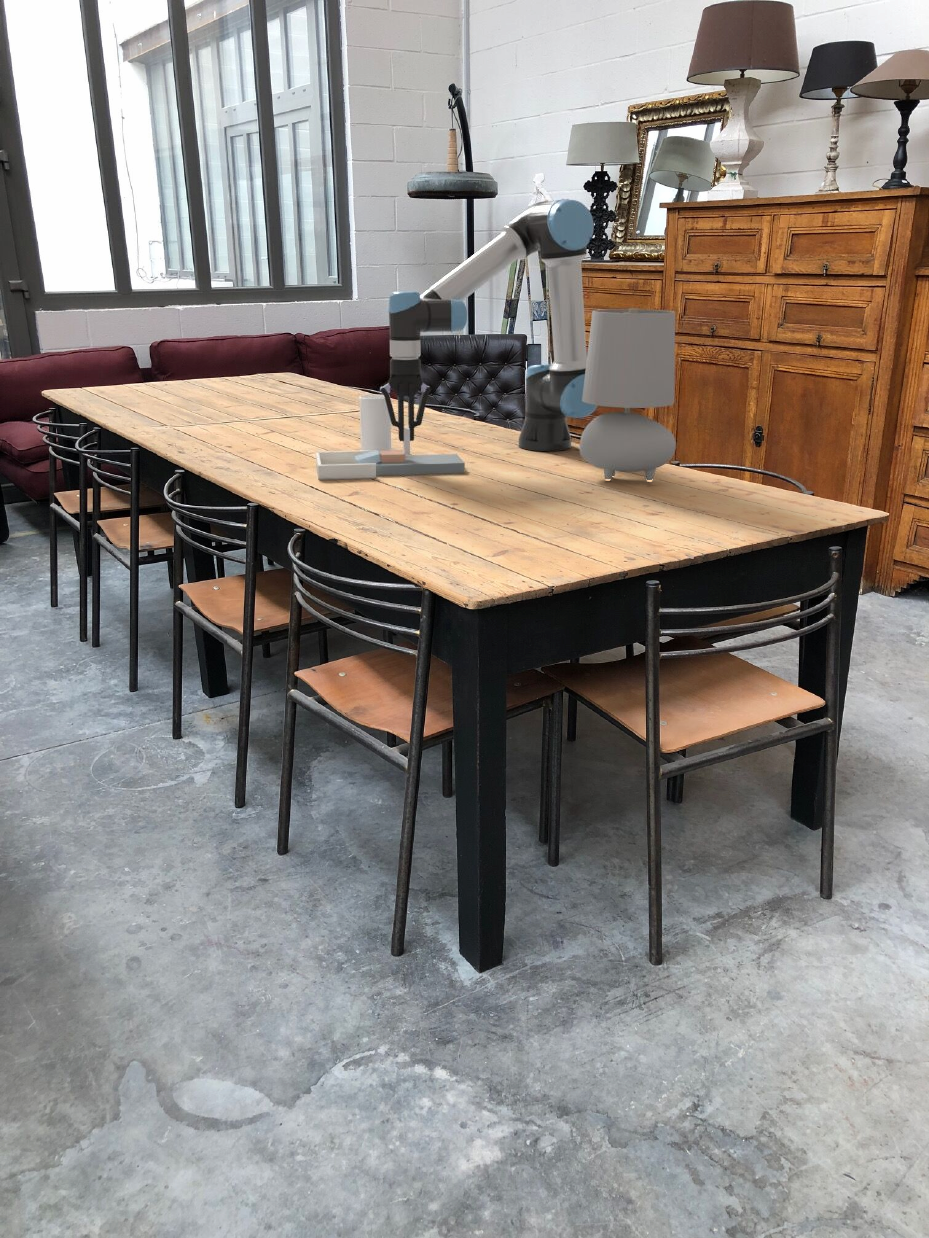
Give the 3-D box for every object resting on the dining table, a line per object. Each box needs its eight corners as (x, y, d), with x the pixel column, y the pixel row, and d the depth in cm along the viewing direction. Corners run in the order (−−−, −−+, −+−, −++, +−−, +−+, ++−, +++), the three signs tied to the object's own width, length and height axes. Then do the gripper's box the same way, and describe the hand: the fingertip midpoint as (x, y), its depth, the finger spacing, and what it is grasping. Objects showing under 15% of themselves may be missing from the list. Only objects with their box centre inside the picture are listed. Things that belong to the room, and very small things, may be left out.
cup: (386, 459, 258) (385, 399, 252) (357, 458, 259) (355, 398, 254) (394, 454, 265) (393, 395, 260) (366, 452, 267) (364, 394, 261)
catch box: (370, 463, 253) (369, 450, 251) (376, 478, 236) (375, 464, 235) (316, 465, 250) (315, 451, 249) (318, 480, 234) (317, 465, 233)
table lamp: (678, 475, 241) (692, 307, 227) (666, 494, 222) (680, 312, 208) (587, 469, 248) (596, 305, 234) (568, 486, 229) (576, 309, 215)
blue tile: (379, 457, 246) (377, 449, 246) (381, 461, 241) (379, 454, 240) (356, 463, 246) (354, 456, 245) (358, 468, 240) (356, 460, 240)
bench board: (456, 463, 254) (456, 454, 253) (464, 472, 243) (464, 463, 242) (373, 465, 250) (372, 456, 249) (377, 475, 239) (377, 465, 238)
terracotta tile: (402, 457, 248) (402, 449, 247) (405, 462, 242) (405, 454, 241) (379, 458, 247) (379, 450, 246) (381, 462, 241) (381, 454, 240)
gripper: (429, 356, 241) (429, 450, 249) (377, 356, 238) (379, 451, 247) (433, 359, 234) (434, 456, 242) (380, 359, 231) (382, 457, 240)
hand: (406, 453), depth 244 cm, fingers closed
